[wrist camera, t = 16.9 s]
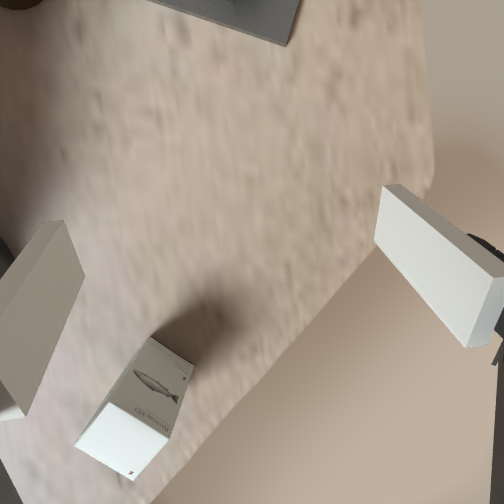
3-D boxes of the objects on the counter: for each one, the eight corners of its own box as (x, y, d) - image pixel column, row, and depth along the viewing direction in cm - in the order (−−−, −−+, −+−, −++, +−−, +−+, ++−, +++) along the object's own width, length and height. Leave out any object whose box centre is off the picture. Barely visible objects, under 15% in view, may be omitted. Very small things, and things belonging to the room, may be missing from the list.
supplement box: (196, 364, 47) (172, 441, 35) (165, 400, 49) (132, 485, 37) (150, 333, 46) (108, 400, 34) (120, 371, 48) (70, 448, 36)
